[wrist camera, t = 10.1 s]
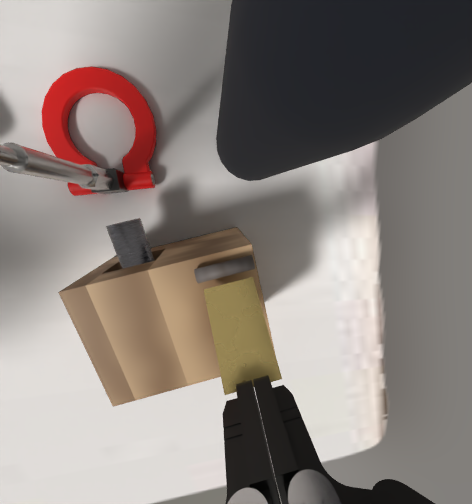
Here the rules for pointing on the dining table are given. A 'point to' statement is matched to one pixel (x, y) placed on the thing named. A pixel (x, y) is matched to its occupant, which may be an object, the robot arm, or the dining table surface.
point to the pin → (130, 243)
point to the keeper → (240, 334)
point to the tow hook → (67, 156)
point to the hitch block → (157, 314)
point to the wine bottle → (333, 76)
